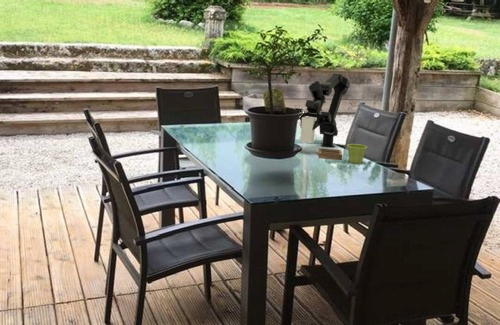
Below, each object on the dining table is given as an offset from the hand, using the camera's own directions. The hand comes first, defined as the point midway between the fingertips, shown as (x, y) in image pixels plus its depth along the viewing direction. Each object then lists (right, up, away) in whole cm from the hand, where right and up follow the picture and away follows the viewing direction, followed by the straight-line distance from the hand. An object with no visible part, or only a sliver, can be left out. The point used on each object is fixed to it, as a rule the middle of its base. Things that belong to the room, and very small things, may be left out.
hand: (306, 128), depth 272 cm
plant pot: (+22, -17, -7) cm, 29 cm away
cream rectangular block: (0, -6, +3) cm, 7 cm away
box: (+11, -14, +1) cm, 18 cm away
